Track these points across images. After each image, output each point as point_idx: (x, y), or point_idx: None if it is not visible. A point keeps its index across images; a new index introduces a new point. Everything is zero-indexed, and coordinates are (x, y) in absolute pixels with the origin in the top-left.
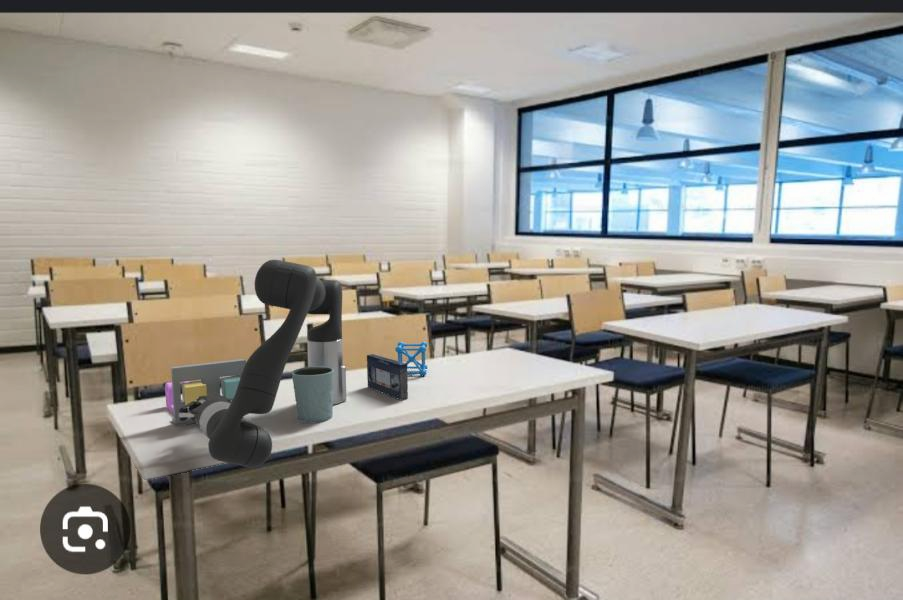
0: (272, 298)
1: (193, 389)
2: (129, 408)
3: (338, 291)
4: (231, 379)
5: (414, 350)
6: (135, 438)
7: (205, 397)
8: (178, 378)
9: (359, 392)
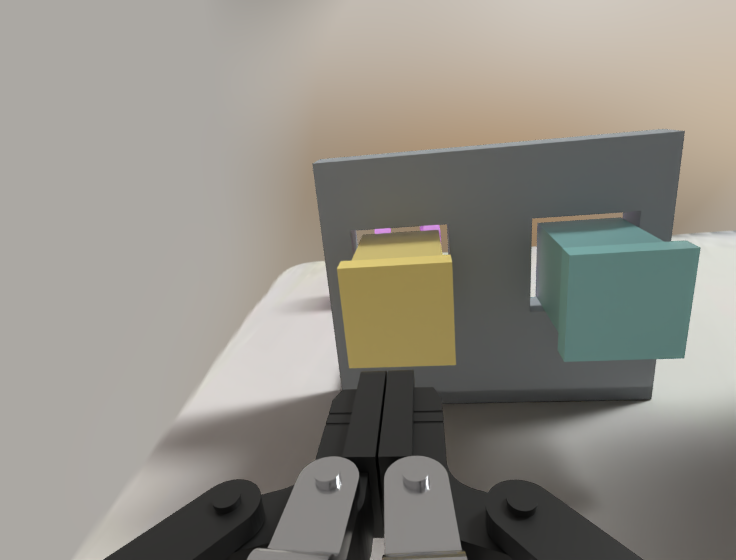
0: None
1: (381, 281)
2: (305, 279)
3: None
4: (595, 235)
5: None
6: (165, 458)
7: (394, 411)
8: (342, 213)
9: None
